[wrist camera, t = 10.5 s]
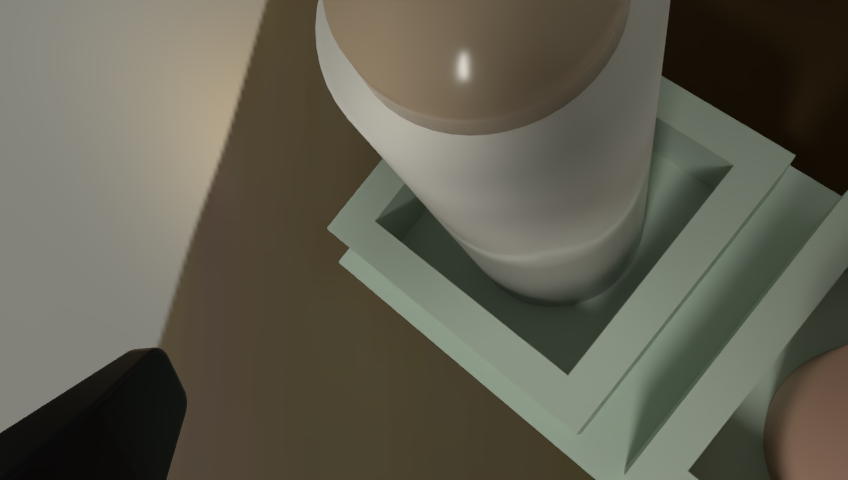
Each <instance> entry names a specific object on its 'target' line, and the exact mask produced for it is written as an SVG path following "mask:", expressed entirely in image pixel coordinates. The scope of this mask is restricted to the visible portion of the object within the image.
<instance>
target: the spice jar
mask: <svg viewBox="0 0 848 480" xmlns="http://www.w3.org/2000/svg"><path fill="white" fill-rule="evenodd" d="M669 8H670V0H319V1H318V6H317V15H316V27H315V28H316V47H317V52H318V57H319V63H320V67H321V70H322V73H323V76H324V78H325V81H326V84H327V86H328V88H329V90H330V92H331V94H332V96H333V98H334V100H335V102H336V103H337V105H338V106H339V107H340V109H341V110H342V111H343V113H344V114H345V115H346V117H347V118H348V119H349V121H350V122H351V123H352V124H353V125H354V126H355V127H356V128H357V130H358V131H359V132H360V133H361V134H362V135H363V136H364V137H365V139H366V140H367V141H368V142H369V143H370V144H371V145H372V146H373V148H374V149H375V150H376V151H377V152H378V153H379V154H380V156H381V157H382V158H383V159H384V160H385V161H386V162H387V163H388V165H389V166H390V167H391V168H392V169H393V170H394V171H395V172H396V174H397V175H398V176H399V177H400V178H401V179H402V180H403V181H404V183H405V184H406V185H407V186H408V187H409V188H410V189H411V191H412V192H413V193H414V194H415V195H416V196H417V197H418V198H419V200H420V201H421V202H422V203H423V204H424V205H425V206H426V207H427V209H428V210H429V211H430V212H431V213H432V214H433V215H434V217H435V218H436V219H437V220H438V221H439V222H440V223H441V224H442V226H443V227H444V228H445V229H446V230H447V231H448V232H449V233H450V235H451V236H452V237H453V238H454V239H455V240H456V241H457V242H458V244H459V245H460V246H461V247H462V248H463V249H464V250H465V252H466V253H467V254H468V255H469V256H470V257H471V258H472V259H473V261H474V262H475V263H476V264H477V265H478V266H479V267H480V268H481V270H482V271H483V272H484V273H485V274H486V275H487V276H488V278H489V279H490V280H491V281H492V282H493V283H494V284H495V285H496V286H498V287H499V288H500V289H502V290H503V291H504V292H506V293H507V294H509V295H511V296H512V297H514V298H516V299H519V300H521V301H524V302H526V303H530V304H534V305H539V306H546V307H561V306H570V305H574V304H578V303H582V302H585V301H587V300H590V299H592V298H594V297H596V296H598V295H600V294H601V293H603V292H605V291H606V290H607V289H609V288H610V287H611V286H613V285H614V284H615V283H616V282H617V281H618V280H619V279H620V278H621V277H622V276H623V274H624V273H625V272H626V271H627V269H628V268H629V266H630V265H631V263H632V261H633V260H634V258H635V255H636V253H637V251H638V248H639V245H640V241H641V237H642V230H643V221H644V213H645V205H646V197H647V189H648V180H649V172H650V164H651V156H652V148H653V139H654V131H655V123H656V115H657V107H658V98H659V90H660V82H661V74H662V66H663V57H664V49H665V41H666V33H667V24H668V16H669Z"/></svg>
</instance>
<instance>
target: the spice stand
mask: <svg viewBox="0 0 848 480" xmlns="http://www.w3.org/2000/svg"><path fill="white" fill-rule="evenodd" d="M795 156H796V155H794V154H793V153H791V152H789V151H787V150H786V149H784V148H782V147H781V146H779V145H777V144H776V143H774V142H772V141H771V140H769V139H767V138H766V137H764V136H762V135H761V134H759V133H757V132H756V131H754V130H752V129H750V128H749V127H747V126H745V125H744V124H742V123H740V122H739V121H737V120H735V119H734V118H732V117H730V116H729V115H727V114H725V113H724V112H722V111H720V110H719V109H717V108H715V107H713V106H712V105H710V104H708V103H707V102H705V101H703V100H702V99H700V98H698V97H697V96H695V95H693V94H692V93H690V92H688V91H687V90H685V89H683V88H682V87H680V86H678V85H676V84H675V83H673V82H671V81H670V80H668V79H666V78H665V77H663V76H661V82H660V90H659V98H658V107H657V115H656V123H655V131H654V139H653V148H652V156H651V164H650V172H649V180H648V189H647V197H646V205H645V213H644V221H643V230H642V237H641V241H640V245H639V248H638V251H637V253H636V255H635V258H634V260H633V261H632V263H631V265H630V266H629V268H628V269H627V271H626V272H625V273H624V274H623V276H622V277H621V278H620V279H619V280H618V281H617V282H616V283H615V284H614V285H613V286H611V287H610V288H609V289H607V290H606V291H605V292H603V293H601V294H600V295H598V296H596V297H594V298H592V299H590V300H587V301H585V302H582V303H578V304H574V305H570V306H561V307H546V306H539V305H534V304H530V303H526V302H524V301H521V300H519V299H516V298H514V297H512V296H511V295H509V294H507V293H506V292H504V291H503V290H502V289H500V288H499V287H498V286H496V285H495V284H494V283H493V282H492V281H491V280H490V279H489V278H488V276H487V275H486V274H485V273H484V272H483V271H482V270H481V268H480V267H479V266H478V265H477V264H476V263H475V262H474V261H473V259H472V258H471V257H470V256H469V255H468V254H467V253H466V252H465V250H464V249H463V248H462V247H461V246H460V245H459V244H458V242H457V241H456V240H455V239H454V238H453V237H452V236H451V235H450V233H449V232H448V231H447V230H446V229H445V228H444V227H443V226H442V224H441V223H440V222H439V221H438V220H437V219H436V218H435V217H434V215H433V214H432V213H431V212H430V211H429V210H428V209H427V207H426V206H425V205H424V204H423V203H422V202H421V201H420V200H419V198H418V197H417V196H416V195H415V194H414V193H413V192H412V191H411V189H410V188H409V187H408V186H407V185H406V184H405V183H404V181H403V180H402V179H401V178H400V177H399V176H398V175H397V174H396V172H395V171H394V170H393V169H392V168H391V167H390V166H389V165H388V163H387V162H386V161H385V160H384V159H382V160H381V161H380V163H379V164H378V165H377V166H376V168H375V169H374V170H373V171H372V173H371V174H370V175H369V176H368V178H367V179H366V180H365V181H364V183H363V184H362V185H361V186H360V188H359V189H358V190H357V191H356V193H355V194H354V195H353V196H352V198H351V199H350V200H349V201H348V203H347V204H346V205H345V206H344V208H343V209H342V210H341V211H340V212H339V214H338V215H337V216H336V217H335V219H334V220H333V221H332V222H331V224H330V225H329V226H328V227H327V229H328V230H329V231H330V232H331V233H333V234H334V235H335V236H336V237H337V238H339V239H340V240H341V241H342V242H343V243H345V244H346V245H347V246H348V247H350V248H349V249H348V251H347V252H346V253H345V254H344V256H343V257H342V258H341V259H340V261H339V263H340V264H341V265H342V266H344V267H345V268H346V269H347V270H348V271H350V272H351V273H352V274H353V275H354V276H355V277H357V278H358V279H359V280H360V281H361V282H363V283H364V284H365V285H366V286H367V287H368V288H370V289H371V290H372V291H373V292H374V293H376V294H377V295H378V296H379V297H380V298H382V299H383V300H384V301H385V302H386V303H387V304H389V305H390V306H391V307H392V308H393V309H395V310H396V311H397V312H398V313H399V314H400V315H402V316H403V317H404V318H405V319H406V320H408V321H409V322H410V323H411V324H412V325H413V326H415V327H416V328H417V329H418V330H419V331H421V332H422V333H423V334H424V335H425V336H426V337H428V338H429V339H430V340H431V341H432V342H434V343H435V344H436V345H437V346H438V347H440V348H441V349H442V350H443V351H444V352H445V353H447V354H448V355H449V356H450V357H451V358H453V359H454V360H455V361H456V362H457V363H458V364H460V365H461V366H462V367H463V368H464V369H466V370H467V371H468V372H469V373H470V374H471V375H473V376H474V377H475V378H476V379H477V380H479V381H480V382H481V383H482V384H483V385H484V386H486V387H487V388H488V389H489V390H490V391H492V392H493V393H494V394H495V395H496V396H498V397H499V398H500V399H501V400H502V401H503V402H505V403H506V404H507V405H508V406H509V407H511V408H512V409H513V410H514V411H515V412H516V413H518V414H519V415H520V416H521V417H522V418H524V419H525V420H526V421H527V422H528V423H529V424H531V425H532V426H533V427H534V428H535V429H537V430H538V431H539V432H540V433H541V434H542V435H544V436H545V437H546V438H547V439H548V440H550V441H551V442H552V443H553V444H554V445H555V446H557V447H558V448H559V449H560V450H561V451H563V452H564V453H565V454H566V455H567V456H569V457H570V458H571V459H572V460H573V461H574V462H576V463H577V464H578V465H579V466H580V467H582V468H583V469H584V470H585V471H586V472H587V473H589V474H590V475H591V476H592V477H593V478H595V479H596V480H848V190H847V191H846V192H845V193H844V194H843V196H840V195H838V194H837V193H835V192H833V191H832V190H830V189H828V188H827V187H825V186H823V185H822V184H820V183H819V182H817V181H815V180H814V179H812V178H810V177H809V176H807V175H805V174H804V173H802V172H800V171H799V170H797V169H795V168H794V167H792V166H790V164H791V162H792V161H793V159H794V158H795Z"/></svg>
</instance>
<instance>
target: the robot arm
mask: <svg viewBox="0 0 848 480" xmlns="http://www.w3.org/2000/svg"><path fill="white" fill-rule="evenodd" d="M186 409H187V397H186V393H185V390H184V388H183V386H182V384H181V382H180V380H179V378H178V376H177V374H176V372H175V370H174V368H173V366H172V364H171V362H170V359H169V357H168V356H167V354H166V353H165V352H164V351H163V350H162V349H159V348H145V349H134V350H131V351H129V352H127V353H126V354H124V355H122V356H121V357H119V358H117V359H116V360H114V361H113V362H111V363H110V364H108V365H106V366H105V367H103V368H102V369H100V370H99V371H97V372H95V373H94V374H92V375H91V376H89V377H88V378H86V379H84V380H83V381H81V382H80V383H78V384H77V385H75V386H74V387H72V388H70V389H69V390H67V391H66V392H64V393H62V394H61V395H60V396H58V397H56V398H55V399H53V400H52V401H50V402H49V403H47V404H45V405H44V406H42V407H40V408H39V409H37V410H36V411H34V412H33V413H31V414H30V415H28V416H27V417H25V418H23V419H22V420H20V421H18V422H17V423H16V424H14V425H12V426H11V427H9V428H8V429H6V430H4V431H3V432H1V433H0V480H166V478H167V475H168V472H169V468H170V465H171V461H172V458H173V454H174V451H175V448H176V444H177V441H178V437H179V434H180V430H181V427H182V423H183V420H184V417H185V413H186Z"/></svg>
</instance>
